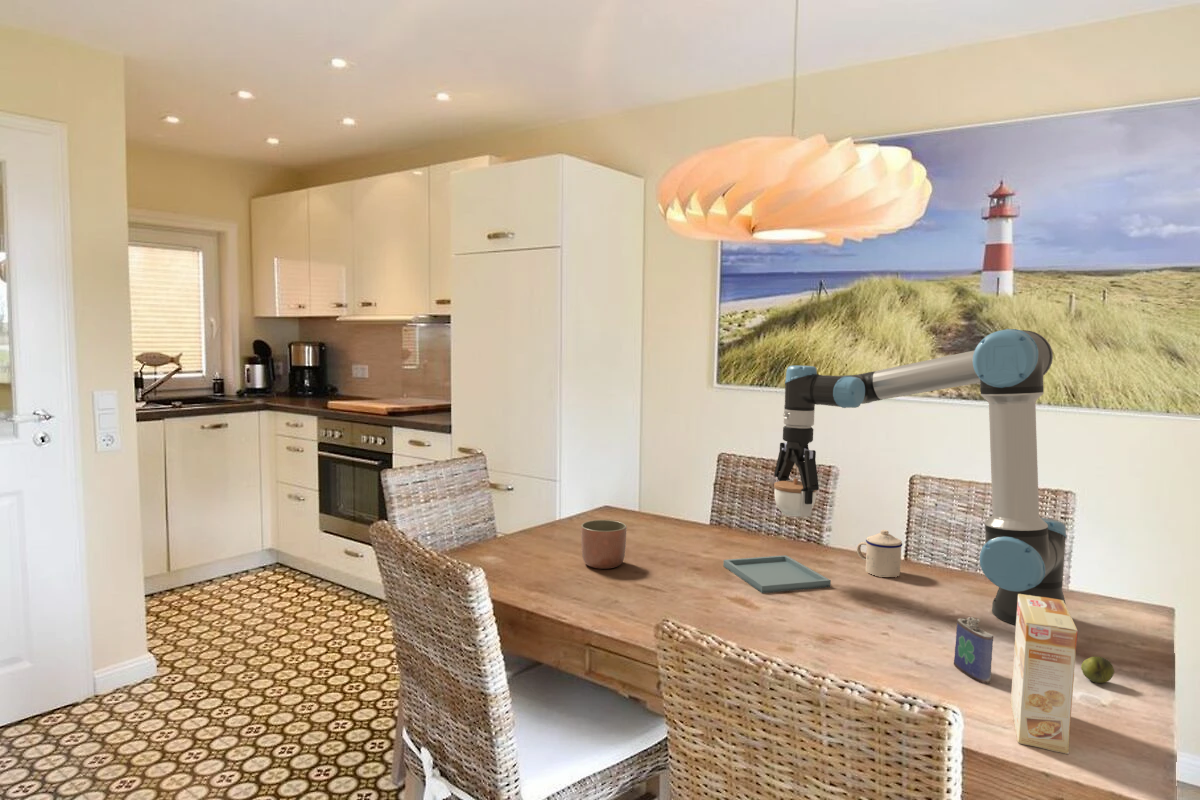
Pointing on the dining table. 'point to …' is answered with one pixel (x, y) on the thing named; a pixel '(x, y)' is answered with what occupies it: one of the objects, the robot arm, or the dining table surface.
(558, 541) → the dining table surface
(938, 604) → the dining table surface
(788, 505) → the lidded jar
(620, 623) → the dining table surface
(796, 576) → the tray
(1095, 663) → the lime
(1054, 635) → the coffeecake box
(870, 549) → the teacup with lid
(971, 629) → the flask
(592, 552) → the planter
